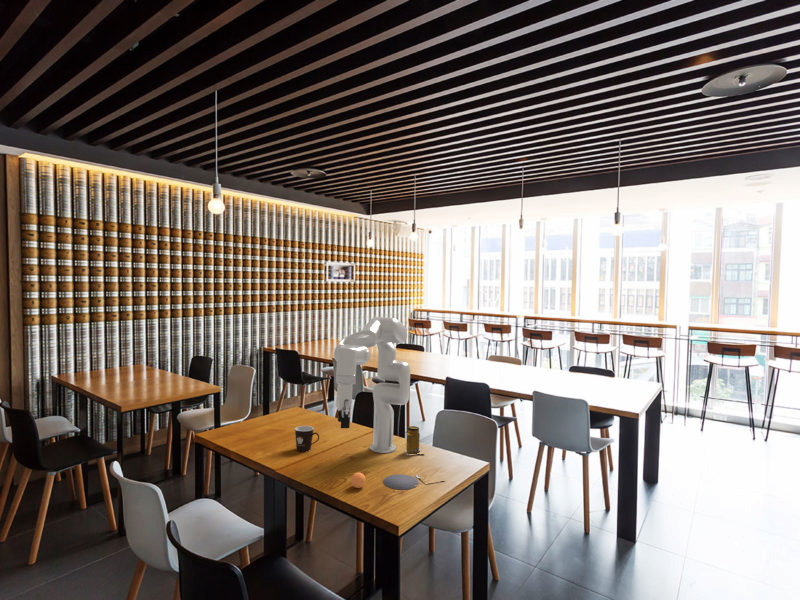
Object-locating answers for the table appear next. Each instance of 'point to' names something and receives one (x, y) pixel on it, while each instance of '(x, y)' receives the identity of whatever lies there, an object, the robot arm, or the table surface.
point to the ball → (358, 480)
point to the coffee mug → (304, 438)
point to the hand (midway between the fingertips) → (343, 424)
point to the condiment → (412, 440)
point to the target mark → (400, 482)
